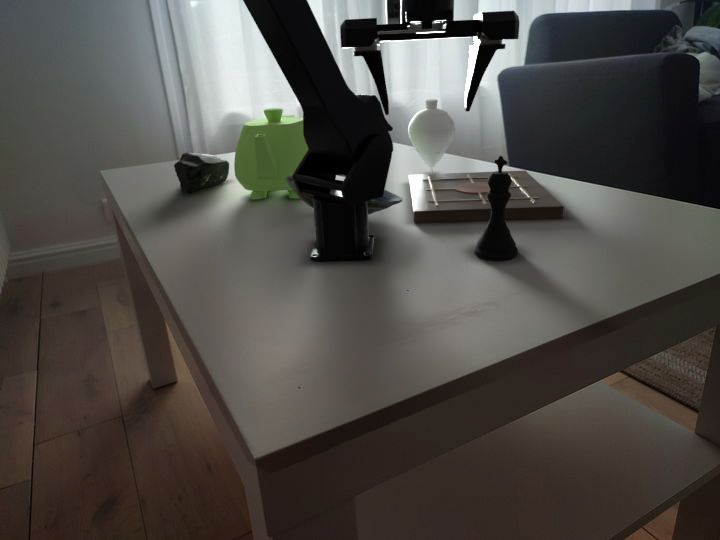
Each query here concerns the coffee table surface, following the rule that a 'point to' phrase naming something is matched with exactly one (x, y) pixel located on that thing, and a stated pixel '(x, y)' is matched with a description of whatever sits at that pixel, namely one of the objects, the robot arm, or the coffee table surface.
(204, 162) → the rock
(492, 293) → the coffee table surface
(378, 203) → the seashell
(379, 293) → the coffee table surface
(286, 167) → the teapot
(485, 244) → the chess piece
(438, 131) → the spinning top
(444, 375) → the coffee table surface
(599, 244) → the coffee table surface
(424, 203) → the board
